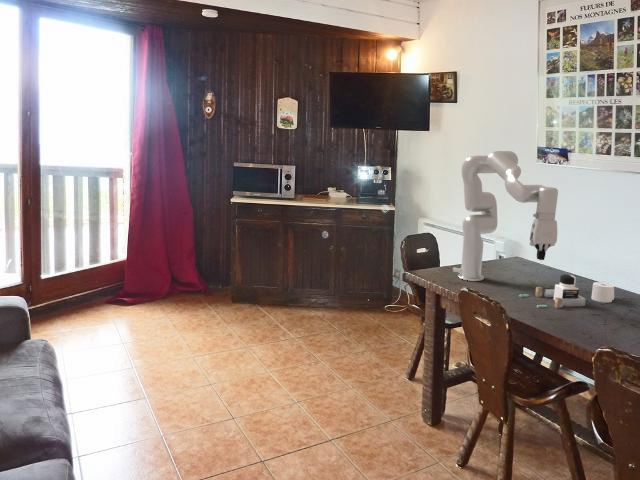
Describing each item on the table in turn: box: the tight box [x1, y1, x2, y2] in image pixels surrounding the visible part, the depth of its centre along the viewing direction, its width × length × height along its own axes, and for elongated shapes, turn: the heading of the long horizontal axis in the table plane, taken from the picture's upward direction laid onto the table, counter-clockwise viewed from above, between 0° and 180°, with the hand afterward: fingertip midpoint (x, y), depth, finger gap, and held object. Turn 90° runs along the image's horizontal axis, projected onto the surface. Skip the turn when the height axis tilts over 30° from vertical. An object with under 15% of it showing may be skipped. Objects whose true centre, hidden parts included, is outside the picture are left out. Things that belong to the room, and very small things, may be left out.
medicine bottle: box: [553, 274, 580, 301], centre depth 239 cm, size 7×7×12 cm
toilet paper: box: [591, 281, 615, 304], centre depth 246 cm, size 8×11×7 cm
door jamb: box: [534, 286, 563, 309], centre depth 240 cm, size 2×18×4 cm, turn 7°
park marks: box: [519, 294, 548, 309], centre depth 239 cm, size 4×16×1 cm, turn 8°
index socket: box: [543, 288, 586, 307], centre depth 241 cm, size 10×14×3 cm
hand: (540, 259), depth 236 cm, fingers closed
